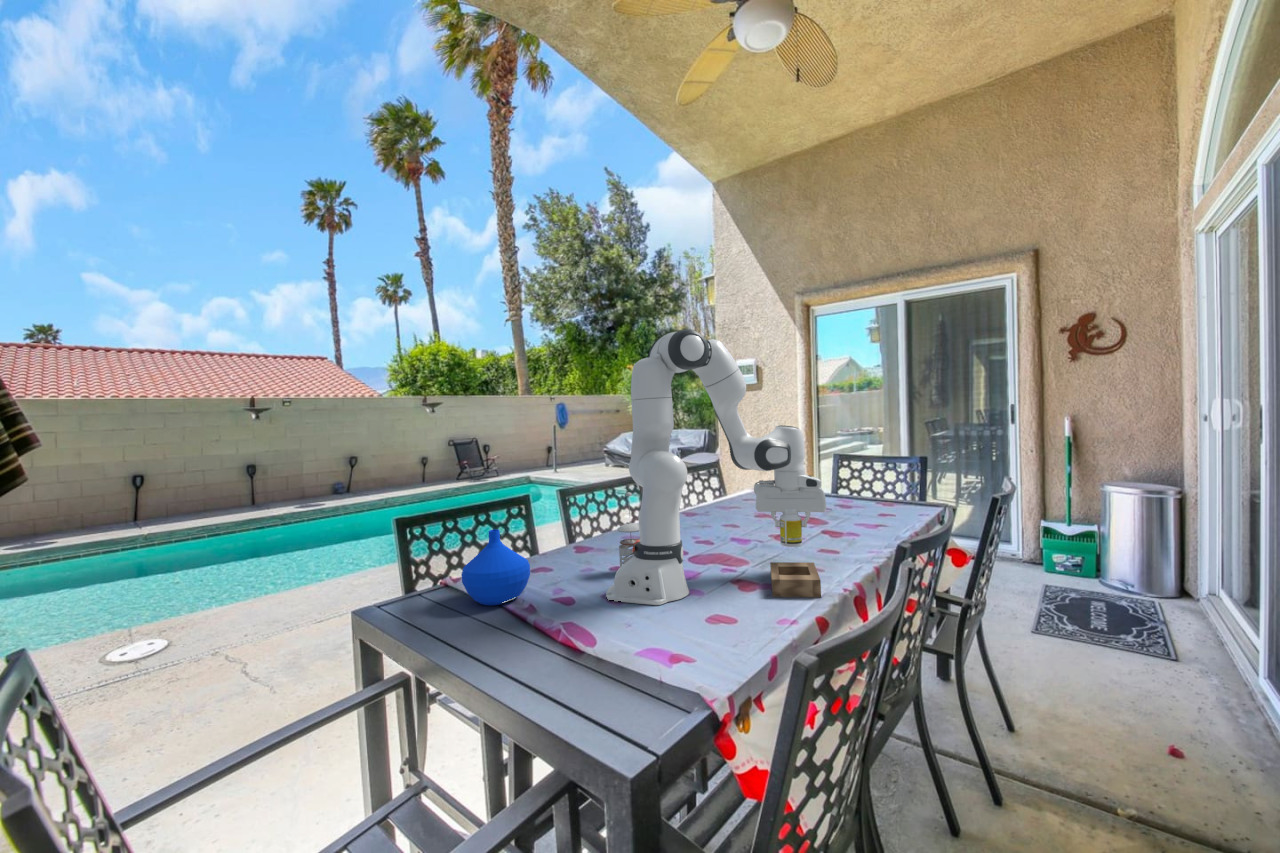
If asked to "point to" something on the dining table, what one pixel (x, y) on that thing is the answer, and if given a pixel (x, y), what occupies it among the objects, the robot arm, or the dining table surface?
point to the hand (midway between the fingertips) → (790, 526)
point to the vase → (495, 573)
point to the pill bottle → (790, 528)
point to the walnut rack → (795, 579)
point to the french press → (627, 542)
